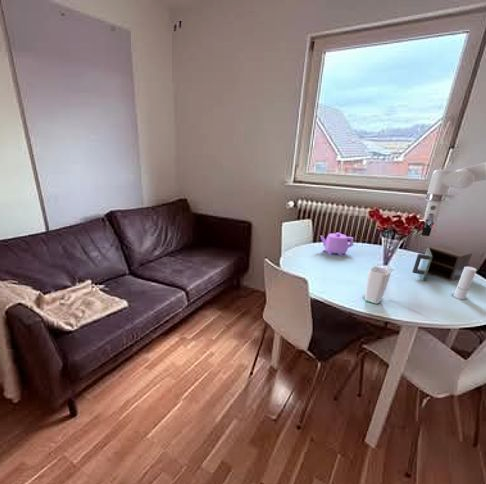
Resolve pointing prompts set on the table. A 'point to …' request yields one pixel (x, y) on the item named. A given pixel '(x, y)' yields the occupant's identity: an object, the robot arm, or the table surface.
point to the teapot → (337, 243)
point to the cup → (376, 284)
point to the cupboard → (448, 262)
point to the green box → (423, 264)
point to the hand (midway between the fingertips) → (425, 233)
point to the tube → (465, 282)
